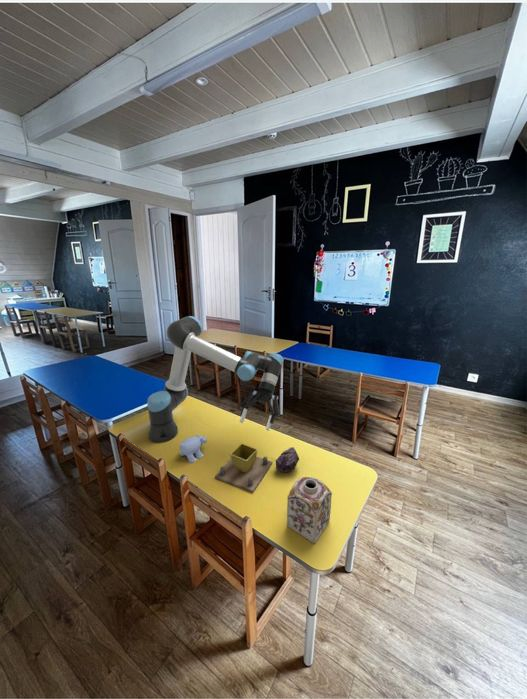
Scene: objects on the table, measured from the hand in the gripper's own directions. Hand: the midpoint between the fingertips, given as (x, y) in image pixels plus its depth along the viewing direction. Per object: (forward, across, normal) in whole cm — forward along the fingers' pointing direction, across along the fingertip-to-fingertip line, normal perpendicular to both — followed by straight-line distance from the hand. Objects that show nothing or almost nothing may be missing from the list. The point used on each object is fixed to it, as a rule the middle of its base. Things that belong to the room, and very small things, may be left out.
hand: (253, 426), depth 129 cm
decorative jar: (+28, -34, +3) cm, 44 cm away
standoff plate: (+19, 0, -6) cm, 20 cm away
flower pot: (+18, 0, -6) cm, 19 cm away
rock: (+12, -17, -14) cm, 25 cm away
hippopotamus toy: (+20, +29, -6) cm, 35 cm away
